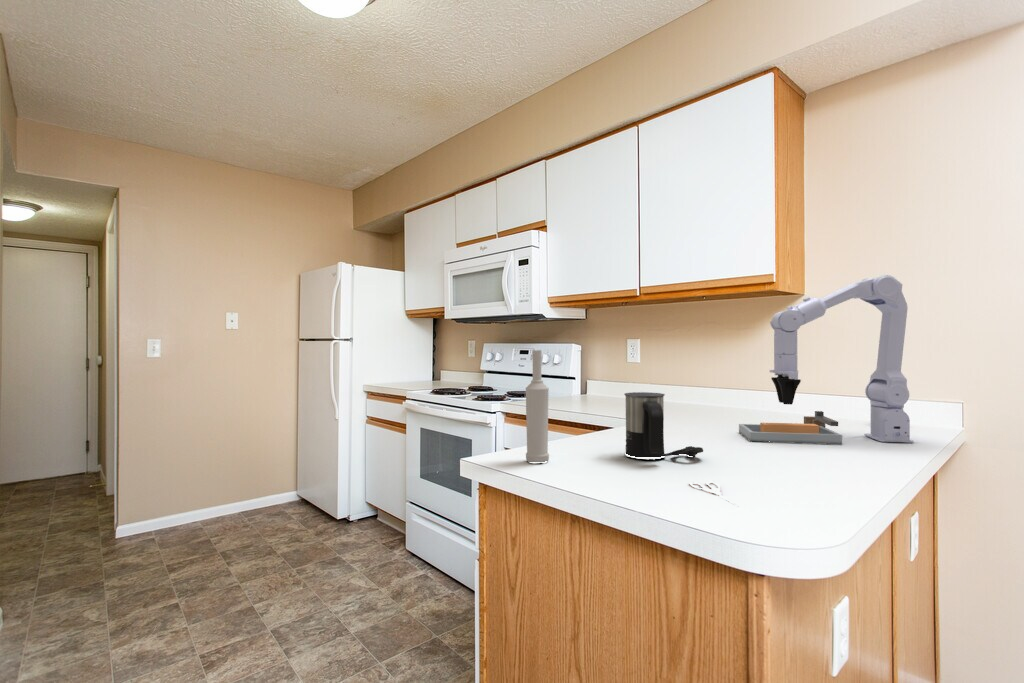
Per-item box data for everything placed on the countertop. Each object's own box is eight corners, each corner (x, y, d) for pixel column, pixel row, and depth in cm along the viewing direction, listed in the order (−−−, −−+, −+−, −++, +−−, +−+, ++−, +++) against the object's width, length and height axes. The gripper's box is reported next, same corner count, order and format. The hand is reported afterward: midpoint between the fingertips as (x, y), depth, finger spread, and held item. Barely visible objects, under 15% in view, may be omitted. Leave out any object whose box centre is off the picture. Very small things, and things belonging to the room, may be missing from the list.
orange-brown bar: (819, 436, 142) (819, 425, 142) (764, 435, 145) (763, 424, 145) (814, 434, 146) (814, 423, 146) (760, 433, 148) (760, 422, 148)
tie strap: (838, 426, 142) (838, 417, 142) (830, 425, 142) (830, 417, 142) (821, 419, 154) (821, 411, 154) (814, 419, 154) (814, 411, 154)
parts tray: (842, 444, 135) (842, 435, 135) (750, 441, 139) (750, 432, 139) (821, 435, 148) (821, 426, 148) (738, 432, 153) (738, 423, 153)
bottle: (541, 465, 114) (541, 350, 114) (521, 462, 117) (521, 350, 117) (552, 460, 118) (552, 350, 118) (533, 458, 121) (532, 350, 121)
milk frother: (616, 454, 125) (616, 392, 125) (671, 449, 131) (671, 389, 130) (653, 468, 112) (652, 398, 112) (712, 461, 117) (711, 395, 117)
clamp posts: (825, 432, 152) (825, 421, 152) (814, 432, 153) (814, 420, 153) (814, 427, 161) (814, 416, 161) (803, 427, 162) (803, 416, 162)
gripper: (763, 353, 153) (763, 399, 153) (777, 355, 139) (777, 406, 139) (789, 353, 151) (789, 400, 152) (806, 355, 137) (806, 406, 137)
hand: (785, 403), depth 145 cm, fingers open, 3 cm apart
